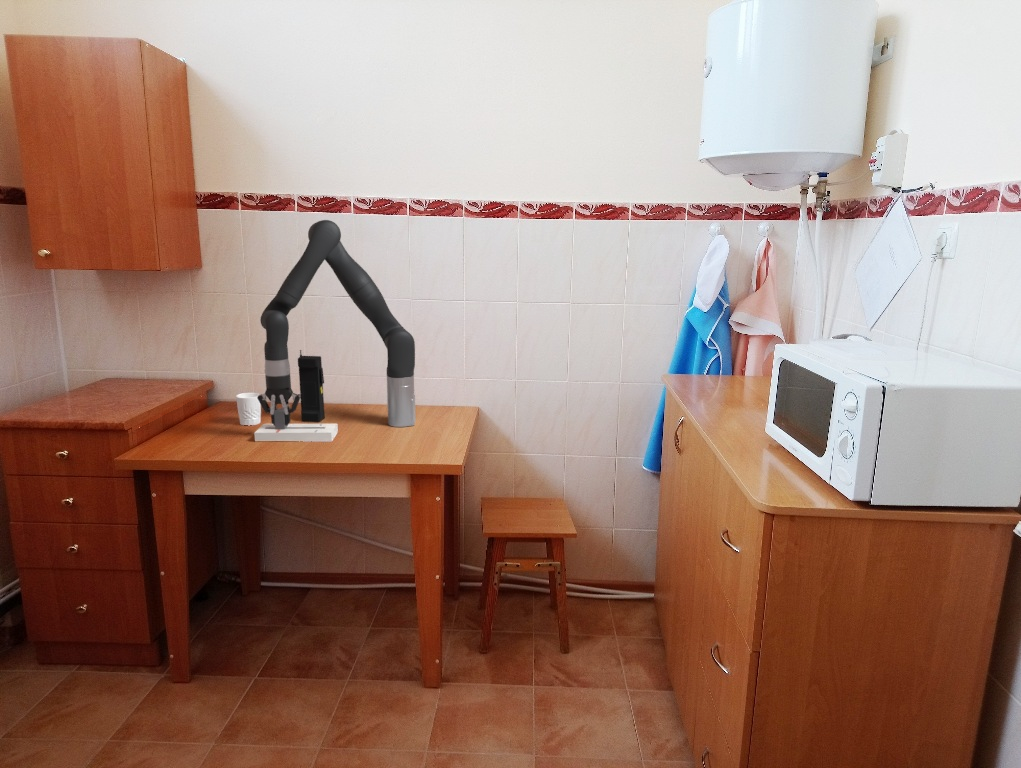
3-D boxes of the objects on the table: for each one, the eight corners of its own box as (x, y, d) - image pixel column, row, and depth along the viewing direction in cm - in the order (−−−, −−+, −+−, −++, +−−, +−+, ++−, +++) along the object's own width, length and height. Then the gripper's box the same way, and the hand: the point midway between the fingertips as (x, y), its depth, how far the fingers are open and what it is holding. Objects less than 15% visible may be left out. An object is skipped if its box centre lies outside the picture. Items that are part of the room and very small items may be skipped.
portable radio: (328, 417, 246) (325, 348, 240) (322, 422, 240) (318, 352, 234) (307, 417, 246) (303, 348, 241) (300, 421, 241) (296, 351, 235)
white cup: (261, 425, 235) (259, 397, 233) (236, 427, 234) (234, 398, 231) (263, 419, 243) (261, 391, 241) (239, 420, 241) (237, 392, 239)
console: (337, 432, 229) (337, 423, 228) (331, 441, 219) (331, 431, 219) (264, 432, 228) (263, 423, 227) (255, 441, 218) (254, 432, 217)
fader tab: (287, 425, 224) (286, 408, 223) (284, 429, 221) (283, 411, 220) (278, 425, 224) (277, 408, 223) (275, 429, 221) (273, 411, 219)
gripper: (303, 370, 222) (306, 421, 226) (258, 370, 222) (262, 421, 226) (297, 375, 215) (300, 428, 219) (251, 375, 214) (255, 428, 218)
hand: (281, 424), depth 222 cm, fingers closed on fader tab, 3 cm apart
